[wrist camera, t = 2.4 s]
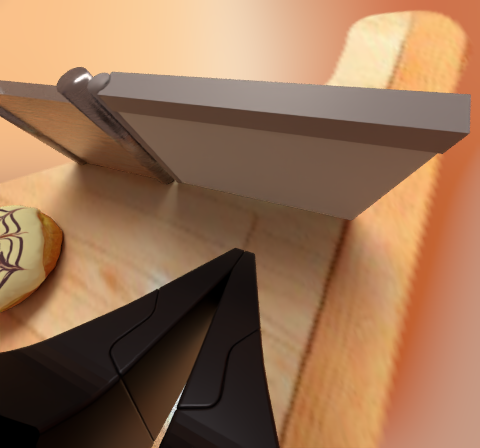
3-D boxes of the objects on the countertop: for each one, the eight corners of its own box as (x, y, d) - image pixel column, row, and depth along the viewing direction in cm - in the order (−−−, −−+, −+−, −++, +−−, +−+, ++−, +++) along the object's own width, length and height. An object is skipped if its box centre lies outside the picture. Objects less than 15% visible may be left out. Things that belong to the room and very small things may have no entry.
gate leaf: (172, 182, 19) (81, 92, 10) (178, 168, 19) (96, 70, 10) (351, 222, 15) (469, 133, 6) (354, 204, 15) (470, 94, 6)
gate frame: (74, 163, 23) (-66, 79, 13) (82, 149, 23) (-48, 59, 14) (171, 185, 19) (75, 95, 10) (178, 169, 20) (94, 67, 10)
